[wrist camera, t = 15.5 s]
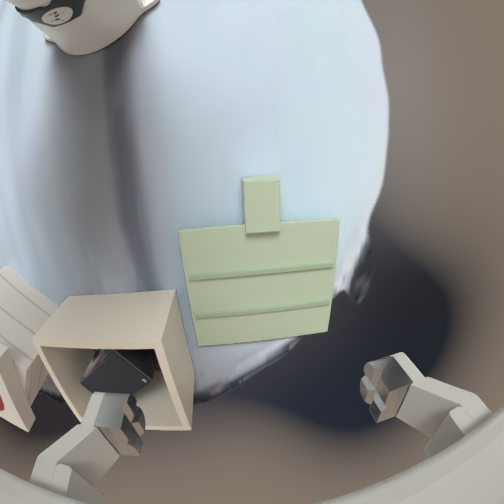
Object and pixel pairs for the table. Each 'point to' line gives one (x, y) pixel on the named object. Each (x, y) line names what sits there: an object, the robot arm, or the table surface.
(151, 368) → the small box
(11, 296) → the pizza boxes
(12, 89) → the table surface
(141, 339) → the tub
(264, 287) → the lid
